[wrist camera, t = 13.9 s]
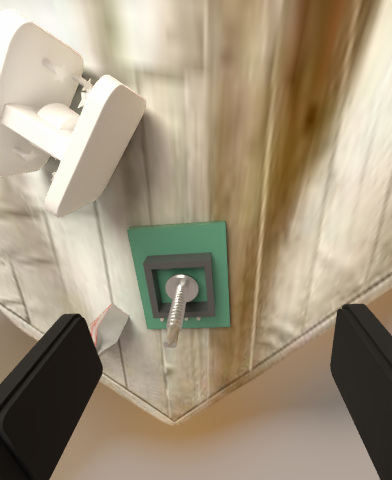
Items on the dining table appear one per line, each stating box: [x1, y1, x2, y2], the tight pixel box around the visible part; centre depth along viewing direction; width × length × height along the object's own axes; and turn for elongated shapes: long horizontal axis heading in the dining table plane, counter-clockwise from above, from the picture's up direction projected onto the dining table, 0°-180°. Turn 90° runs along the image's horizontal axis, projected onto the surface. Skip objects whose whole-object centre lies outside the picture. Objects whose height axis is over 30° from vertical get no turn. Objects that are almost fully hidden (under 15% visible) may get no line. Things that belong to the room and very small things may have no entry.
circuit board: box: [127, 221, 230, 329], centre depth 37 cm, size 14×18×4 cm
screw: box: [164, 273, 198, 348], centre depth 31 cm, size 13×5×5 cm
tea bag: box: [89, 303, 129, 357], centre depth 38 cm, size 4×7×10 cm, turn 136°
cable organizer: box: [0, 9, 146, 217], centre depth 26 cm, size 15×11×12 cm
